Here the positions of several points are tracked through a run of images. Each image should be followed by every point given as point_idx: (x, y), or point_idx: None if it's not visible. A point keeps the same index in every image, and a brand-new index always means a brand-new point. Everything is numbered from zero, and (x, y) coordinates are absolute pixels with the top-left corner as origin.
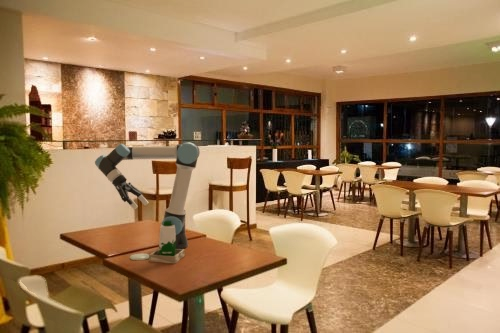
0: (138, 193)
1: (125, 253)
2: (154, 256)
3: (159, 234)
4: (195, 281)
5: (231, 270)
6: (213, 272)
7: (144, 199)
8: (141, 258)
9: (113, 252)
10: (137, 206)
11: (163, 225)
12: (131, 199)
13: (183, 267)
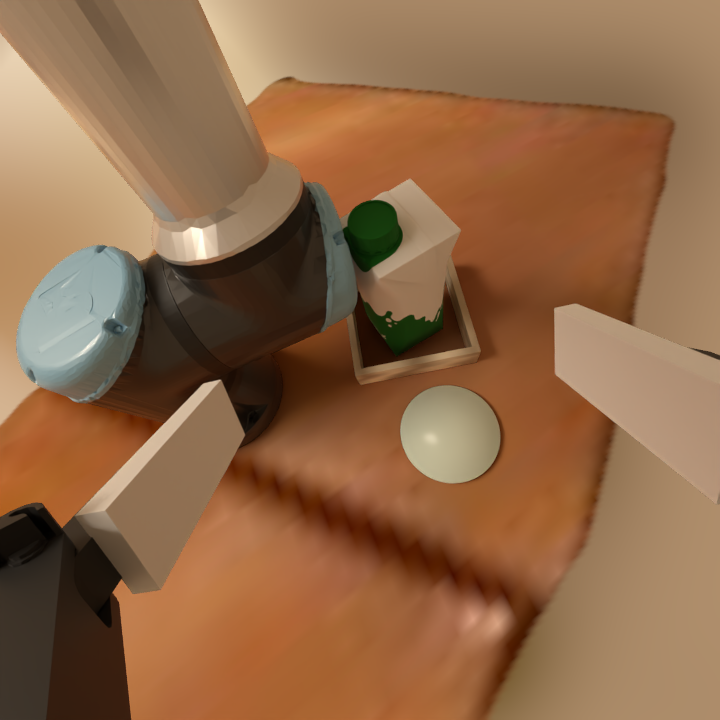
0: (74, 593)
1: (426, 551)
2: (473, 329)
3: (436, 280)
4: (563, 136)
5: (423, 117)
6: (464, 140)
7: (188, 431)
8: (472, 406)
9: (443, 641)
10: (576, 305)
11: (393, 251)
12: (704, 362)
13: (470, 223)
